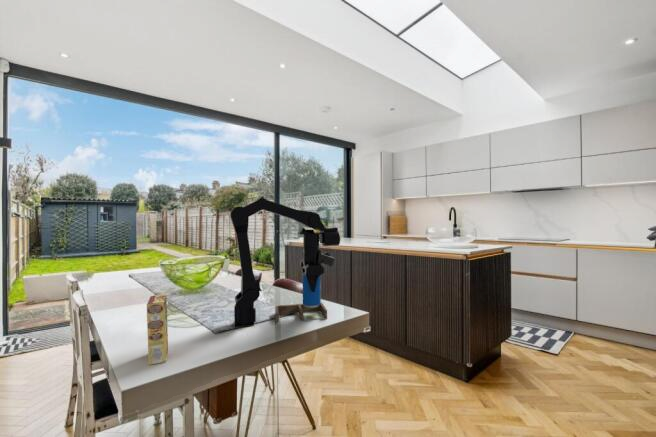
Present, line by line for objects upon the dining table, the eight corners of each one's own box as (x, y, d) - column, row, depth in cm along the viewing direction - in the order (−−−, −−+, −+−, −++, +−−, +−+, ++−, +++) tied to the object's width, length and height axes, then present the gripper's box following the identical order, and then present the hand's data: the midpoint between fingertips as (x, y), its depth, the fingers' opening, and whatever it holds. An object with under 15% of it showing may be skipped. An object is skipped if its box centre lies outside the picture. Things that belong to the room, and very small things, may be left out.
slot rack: (276, 322, 111) (276, 313, 111) (275, 313, 121) (275, 305, 121) (327, 318, 114) (327, 310, 114) (321, 310, 124) (321, 302, 124)
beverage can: (320, 308, 114) (320, 274, 114) (301, 308, 114) (301, 274, 114) (321, 303, 121) (320, 271, 121) (303, 303, 121) (303, 271, 121)
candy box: (166, 362, 81) (165, 301, 81) (147, 365, 80) (146, 303, 79) (168, 349, 89) (167, 293, 89) (151, 352, 88) (150, 295, 88)
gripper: (338, 248, 110) (339, 294, 110) (328, 244, 128) (328, 283, 128) (306, 249, 108) (306, 296, 108) (299, 244, 126) (300, 284, 126)
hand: (311, 289), depth 118 cm, fingers closed on beverage can, 6 cm apart
